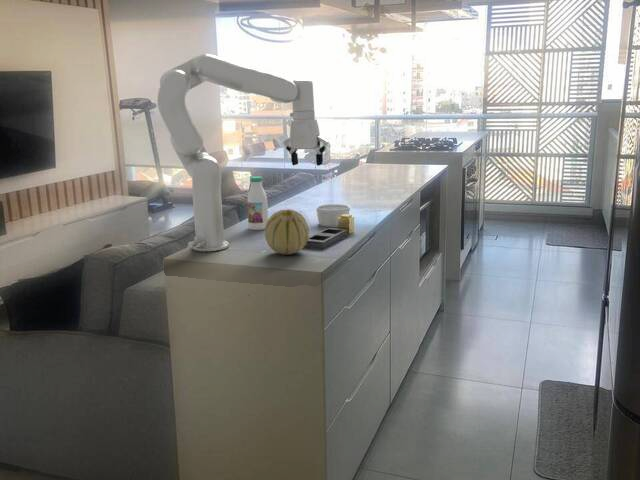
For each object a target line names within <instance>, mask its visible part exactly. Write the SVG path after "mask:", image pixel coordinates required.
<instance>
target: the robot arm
mask: <svg viewBox="0 0 640 480" xmlns="http://www.w3.org/2000/svg"><path fill="white" fill-rule="evenodd" d="M205 82H209V83H211V84H214V85H218V86H221V87H224V88H227V89H230V90H234V91H236V92H239V93H240V92H241V93H245V94H252V95H253V94H255V95H259V96H261V97H266V98H269V99H270V100H271V101H272V102H275V103H279V104H289V103H292V104H291V105H292V112H290V113H289V117H290V118H292V120H290V128H289V131H290V132H289V137H288V138H287V139H286V140H284V141H283V145H284V146H285V149H286V150H287V151H288V153H289V154H290V157H291V164H292V166H297V165H299V155H298V152H297V151H298V150H314V151H315V152H316V155H315V159H316V160H315V162H316V166H319V167H320V166H321V165H323V161H324V160H323V159H324V157H323V153H324V152H325V150H326V149H327V147H328V145H329V140H327V139H326V138H324V137H322V136H321V134H320V127H319V123H318V120H317V119H316V116H315V99H314V86H313V80H311V79H309V78H304V79H302V78H301V79H293V80H290V79H287V78H284V77H281V76H278V75H275V74H272V73H269V72H265V71H263V70H259V69H256V68H255V67H251V66H247V65H243V64H240V63H237V62H234V61H232V60H228V59H226V58H223V57H221V56H220V57H219V56H217V55H214V54H209V53H203V54H199V55H197V56H195V57H193V58H191V59H189V60H187V61H185V62H184V63H182V64H180V65H177V66H176V67H175V66H174V67H173V68H171V69H168V70H167V71H165V72H164V73H163V74H162V75H161V76H160V78H159V88H158V93H157V108H158V111H159V114H160V117H161V119H162V120H163V123H164V125H165V126H166V129H167V130H168V133H169V134H170V143H171V146H172V148H173V150H174V151H175V154H176V155H177V157H178V159H179V161H180V162H181V164H182V166H183V167H184V169H185V170H186V172H187V174H188V176H190V177H191V179H192V204H193V206H192V207H193V217H194V218H193V219H194V231H195V236H194V239H193V240H192V241H189V242H188V243H187V247H188V248H189V249H192V250H193V251H196V252H204V253H205V252H206V251H207V252H217V250H218V251H221V250H225V249H227V248H229V246H230V243H229V242H228V241H227V240H225V235H224V218H223V203H222V202H223V201H222V169H221V166H220V163H219V162H218V161H217V159H216V158H214V157H213V156H212V155H210V154H209V152H208V151H207V150H206V146H204V137H203V134H202V133H201V132H200V130H199V128H198V127H197V125H196V123H195V121H194V119H193V118H192V116H191V113H190V112H189V110H188V107H187V105H186V96H187V93H188V92H189V91H190V90H192V89H193V88H196V87H197V86H199V85H200V86H201V84H203V83H205ZM321 143H322V146H321Z"/></svg>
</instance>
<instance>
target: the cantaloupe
mask: <svg viewBox="0 0 640 480" xmlns="http://www.w3.org/2000/svg"><path fill="white" fill-rule="evenodd" d="M308 237H310V229H309V225H308V222H307V220H306V218H305V217H304V215H303V214H301V213H300V212H298V211H296V210H294V209H288V208H287V209H281V210H278V211H276V212H274V213H272V214H271V215H270V217H268V221H267V223H266V225H265V229H264V238H265V241H266V243H267V245H268V247H270V249H271V250H273V251H274V252H275V253H277V254H280V255H294V254H296V253H299V252H300V251H302V249H303V248H305V247H304V246H305V245H306V243H307V241H308Z"/></svg>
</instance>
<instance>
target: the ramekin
mask: <svg viewBox="0 0 640 480" xmlns="http://www.w3.org/2000/svg"><path fill="white" fill-rule="evenodd" d="M350 208H351V207H350V205H347V204H339V203H336V204H335V203H332V204H330V203H329V204H322V205H317V206H316V215H317V221H318V224H319V225H320V226H321V227H326V228H338V218H339V217H340V216H341V215H343V214H348V215H350V210H351V209H350Z"/></svg>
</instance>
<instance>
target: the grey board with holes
mask: <svg viewBox="0 0 640 480" xmlns="http://www.w3.org/2000/svg"><path fill="white" fill-rule="evenodd" d="M348 236H349V235H348V229H338V227H326V228H325V229H322V230H320V231H319V232H316V233H314V234H312V235H309V237H308V241H307V243H306V245H305V246H304V247H303V248H305V249H306V248H307V249H317V250H325V249H327V248H329V247H331V246H333V245H334V244H336V243H338V242H340V241H342V240H344V239H345V238H347V237H348Z"/></svg>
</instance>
